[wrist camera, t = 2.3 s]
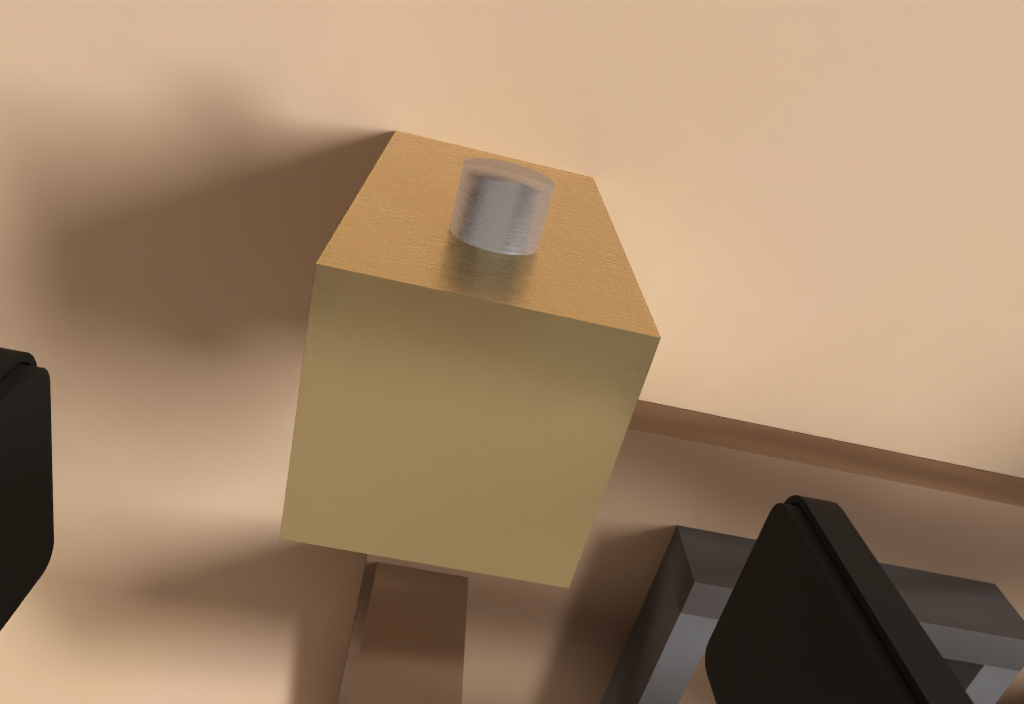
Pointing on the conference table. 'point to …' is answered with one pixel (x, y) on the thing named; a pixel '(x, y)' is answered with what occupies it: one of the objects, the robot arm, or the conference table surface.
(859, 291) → the conference table surface
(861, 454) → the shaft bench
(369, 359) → the block
